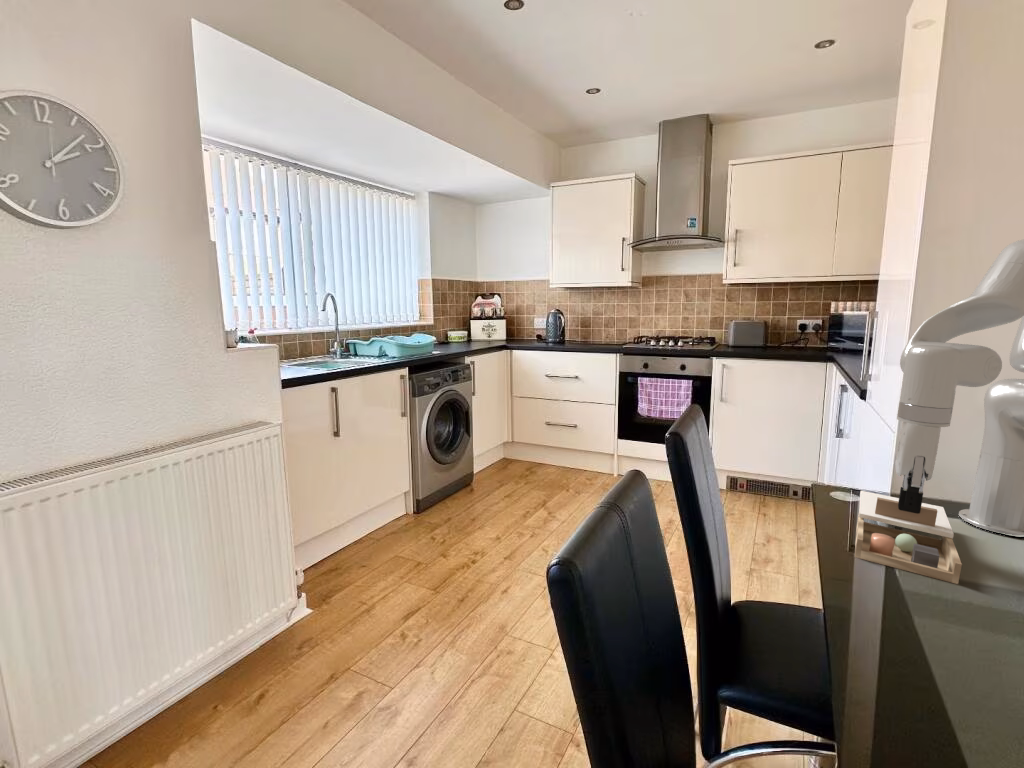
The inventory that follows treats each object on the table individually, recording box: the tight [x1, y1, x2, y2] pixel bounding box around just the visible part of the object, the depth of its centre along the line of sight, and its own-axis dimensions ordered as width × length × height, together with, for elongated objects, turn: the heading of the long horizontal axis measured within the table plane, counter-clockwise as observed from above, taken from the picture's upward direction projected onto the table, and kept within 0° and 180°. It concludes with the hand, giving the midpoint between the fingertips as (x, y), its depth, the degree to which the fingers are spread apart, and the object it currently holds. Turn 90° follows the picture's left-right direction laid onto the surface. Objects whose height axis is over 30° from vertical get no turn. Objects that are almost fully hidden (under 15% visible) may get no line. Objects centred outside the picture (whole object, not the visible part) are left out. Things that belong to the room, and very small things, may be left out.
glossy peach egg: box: [869, 533, 895, 557], centre depth 91 cm, size 3×3×3 cm
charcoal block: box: [911, 544, 939, 568], centre depth 87 cm, size 3×3×3 cm
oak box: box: [854, 513, 963, 585], centre depth 92 cm, size 16×14×4 cm
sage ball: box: [895, 534, 917, 552], centre depth 93 cm, size 3×3×3 cm
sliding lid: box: [858, 490, 955, 539], centre depth 101 cm, size 16×14×4 cm
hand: (908, 510), depth 94 cm, fingers closed
